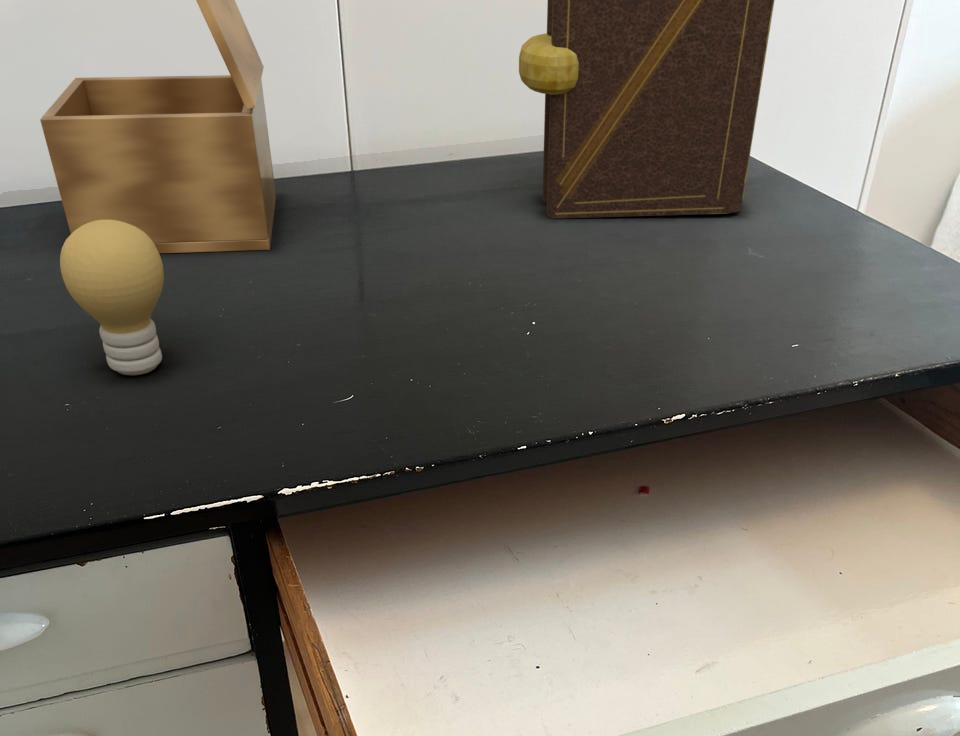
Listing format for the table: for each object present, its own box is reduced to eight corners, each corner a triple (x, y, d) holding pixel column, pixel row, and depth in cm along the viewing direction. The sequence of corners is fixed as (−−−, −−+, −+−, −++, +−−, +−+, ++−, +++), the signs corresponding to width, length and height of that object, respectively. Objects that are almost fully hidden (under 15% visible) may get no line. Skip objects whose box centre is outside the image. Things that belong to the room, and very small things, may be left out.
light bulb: (123, 343, 71) (88, 201, 65) (199, 355, 70) (171, 212, 63) (71, 380, 67) (27, 233, 60) (151, 394, 65) (115, 245, 59)
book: (728, 188, 99) (774, -121, 82) (749, 216, 92) (803, -113, 76) (514, 195, 98) (517, -115, 82) (520, 223, 92) (524, -107, 75)
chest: (76, 256, 84) (39, 119, 77) (105, 202, 95) (75, 77, 88) (270, 249, 86) (251, 114, 79) (276, 197, 97) (260, 74, 90)
